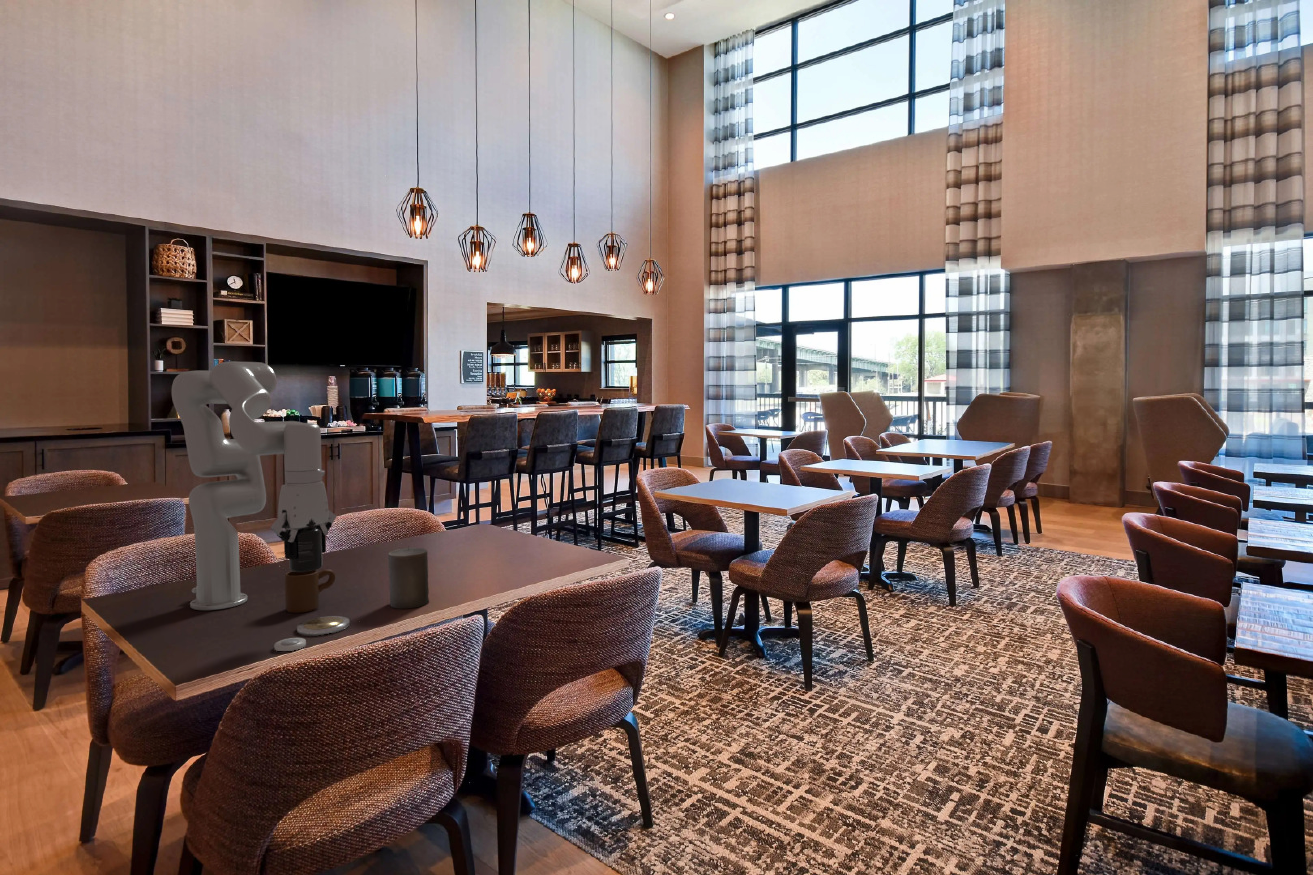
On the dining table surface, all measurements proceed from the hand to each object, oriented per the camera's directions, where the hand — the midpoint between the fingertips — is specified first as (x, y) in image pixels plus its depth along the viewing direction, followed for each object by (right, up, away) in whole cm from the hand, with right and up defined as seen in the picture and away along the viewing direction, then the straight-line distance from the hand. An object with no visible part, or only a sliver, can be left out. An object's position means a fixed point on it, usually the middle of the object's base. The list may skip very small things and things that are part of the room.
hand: (305, 554), depth 163 cm
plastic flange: (+1, -18, -9) cm, 21 cm away
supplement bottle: (0, -3, 0) cm, 3 cm away
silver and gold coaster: (+3, -18, +3) cm, 18 cm away
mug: (-8, -17, +19) cm, 26 cm away
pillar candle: (+16, -17, +23) cm, 32 cm away
